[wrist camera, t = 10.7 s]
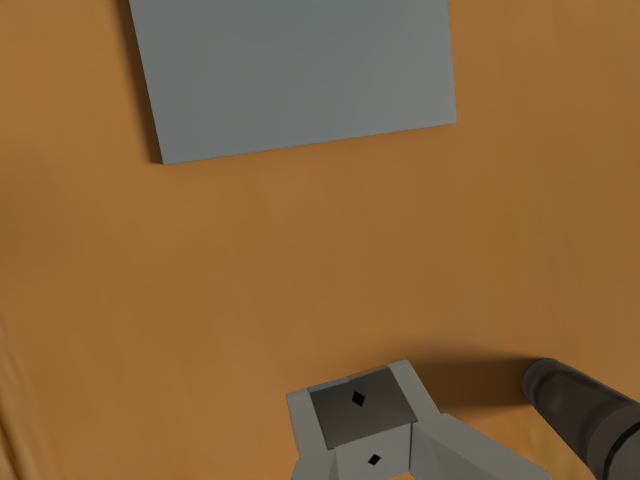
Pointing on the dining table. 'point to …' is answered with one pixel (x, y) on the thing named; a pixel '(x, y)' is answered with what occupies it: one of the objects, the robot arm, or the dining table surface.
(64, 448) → the dining table surface
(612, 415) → the beverage cup
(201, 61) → the slate board
